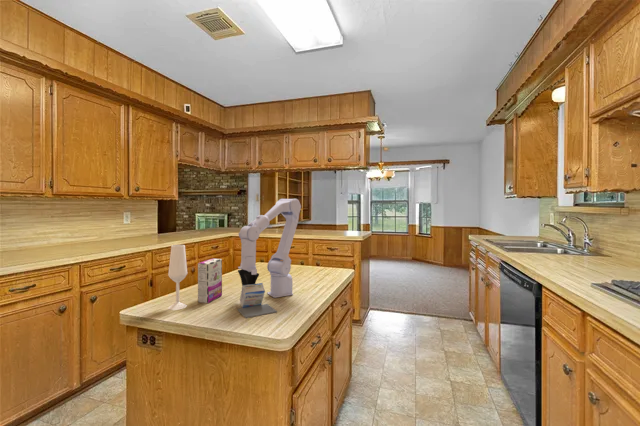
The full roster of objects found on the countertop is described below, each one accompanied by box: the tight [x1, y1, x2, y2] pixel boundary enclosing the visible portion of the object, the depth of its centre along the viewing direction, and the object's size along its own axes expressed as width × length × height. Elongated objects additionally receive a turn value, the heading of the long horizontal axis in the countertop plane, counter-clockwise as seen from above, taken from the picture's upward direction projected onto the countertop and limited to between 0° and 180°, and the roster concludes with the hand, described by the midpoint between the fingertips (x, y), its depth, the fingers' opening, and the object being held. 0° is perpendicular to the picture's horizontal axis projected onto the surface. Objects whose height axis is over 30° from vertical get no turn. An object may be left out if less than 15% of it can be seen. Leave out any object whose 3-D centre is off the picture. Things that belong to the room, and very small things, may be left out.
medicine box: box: [239, 282, 266, 308], centre depth 116 cm, size 8×4×9 cm
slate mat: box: [237, 303, 278, 319], centre depth 112 cm, size 12×10×1 cm
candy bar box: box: [197, 258, 223, 304], centre depth 126 cm, size 11×5×16 cm, turn 168°
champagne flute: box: [167, 244, 188, 311], centre depth 115 cm, size 7×7×24 cm
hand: (247, 288), depth 121 cm, fingers open, 6 cm apart
